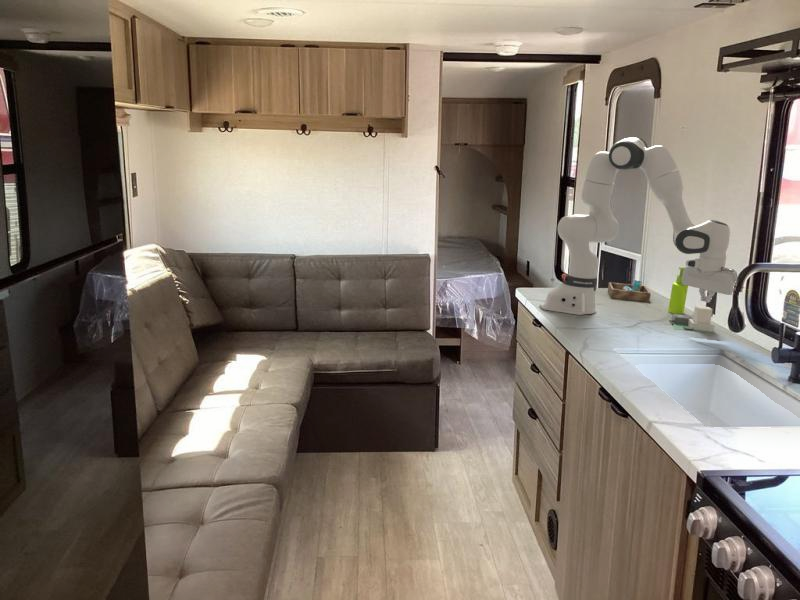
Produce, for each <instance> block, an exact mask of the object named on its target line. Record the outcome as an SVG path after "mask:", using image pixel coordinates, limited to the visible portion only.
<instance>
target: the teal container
mask: <svg viewBox="0 0 800 600" xmlns="http://www.w3.org/2000/svg"><path fill="white" fill-rule="evenodd" d="M632 285H633V289H631V288H630V287H628V286H624V287H623V289H622V290H628V291H638V292H641V286H643V280H642V279H640V278H635V279H633V283H632Z"/></svg>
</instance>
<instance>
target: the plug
mask: <svg viewBox="0 0 800 600" xmlns="http://www.w3.org/2000/svg"><path fill="white" fill-rule="evenodd" d="M713 316H714V310H713V308H711V307H709V306H702V305H700V306H699V305H695V306H694V311H693V316H692V319H693V322H694V323H701V324H710V321H711V320H712V318H713ZM711 322H712V321H711Z"/></svg>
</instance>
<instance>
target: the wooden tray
mask: <svg viewBox="0 0 800 600" xmlns="http://www.w3.org/2000/svg"><path fill="white" fill-rule="evenodd" d="M624 286H628V287H630V288H631V289H633V284H630V283H621V282H620V283H619V282H608V286H607V293H608V294H610V295H609V297H610V299H616V300H617V299H619V300H628V301H629V300H630V301H638V302H639V301H640V302H646V303H647V302H649V303H650V299H651V291H650V290H649V289H648V287H647V286H646V285H642V286H641V292H638V291H628V290H622V289H623V287H624Z"/></svg>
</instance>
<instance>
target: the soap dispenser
mask: <svg viewBox="0 0 800 600" xmlns="http://www.w3.org/2000/svg"><path fill="white" fill-rule="evenodd" d="M686 267H687V266H685V267H684V266H683V267H678V269H679V270H680V271H679V274H677V276H676V281H675V282H672V284H671V285H672V286H671V293H670V298H669V305H668V310H667V311H668V313H670V314H680V315H684V313H685V306H686V301H687V300H686V299H687V295H688V288H689V286H687V285H683V283H682V275H683V271H684V269H685V268H686Z"/></svg>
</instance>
